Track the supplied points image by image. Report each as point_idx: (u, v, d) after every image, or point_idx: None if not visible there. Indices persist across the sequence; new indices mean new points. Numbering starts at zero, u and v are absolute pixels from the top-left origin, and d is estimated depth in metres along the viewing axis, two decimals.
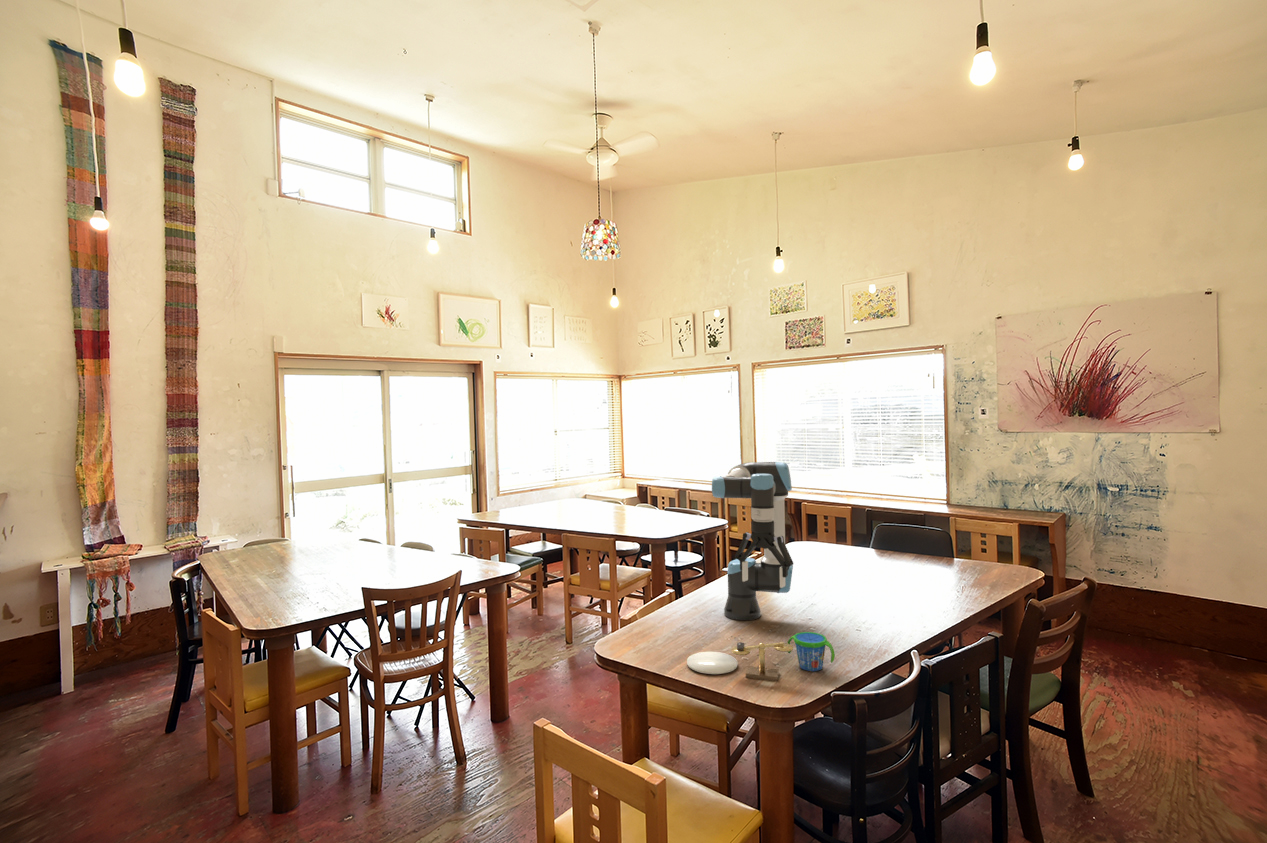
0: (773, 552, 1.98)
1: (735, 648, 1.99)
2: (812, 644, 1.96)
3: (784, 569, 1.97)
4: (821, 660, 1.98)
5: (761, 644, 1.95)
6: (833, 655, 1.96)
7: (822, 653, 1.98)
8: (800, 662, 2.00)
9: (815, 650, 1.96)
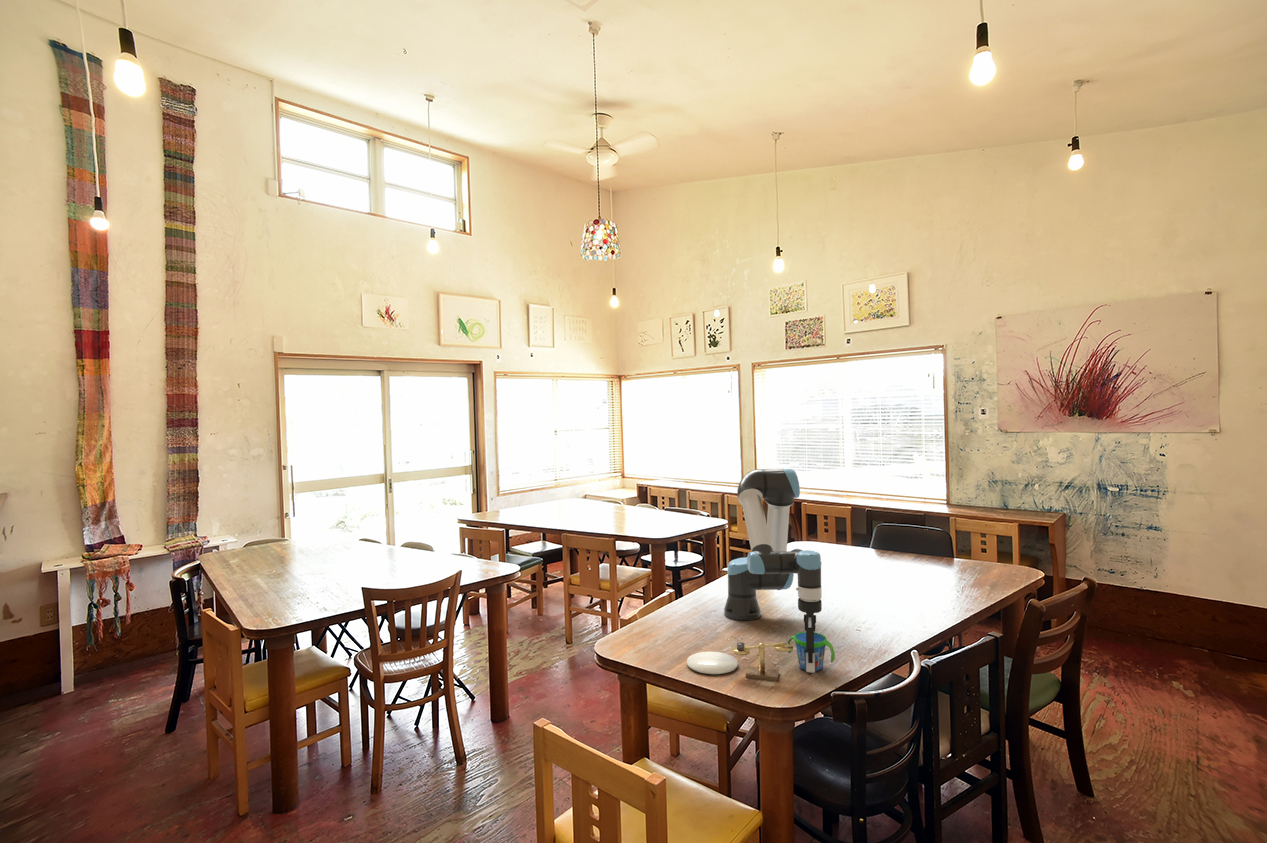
0: None
1: (735, 648, 1.99)
2: None
3: (808, 654, 1.95)
4: (821, 660, 1.98)
5: (761, 644, 1.95)
6: (833, 655, 1.96)
7: (822, 653, 1.98)
8: (800, 662, 2.00)
9: (815, 650, 1.96)
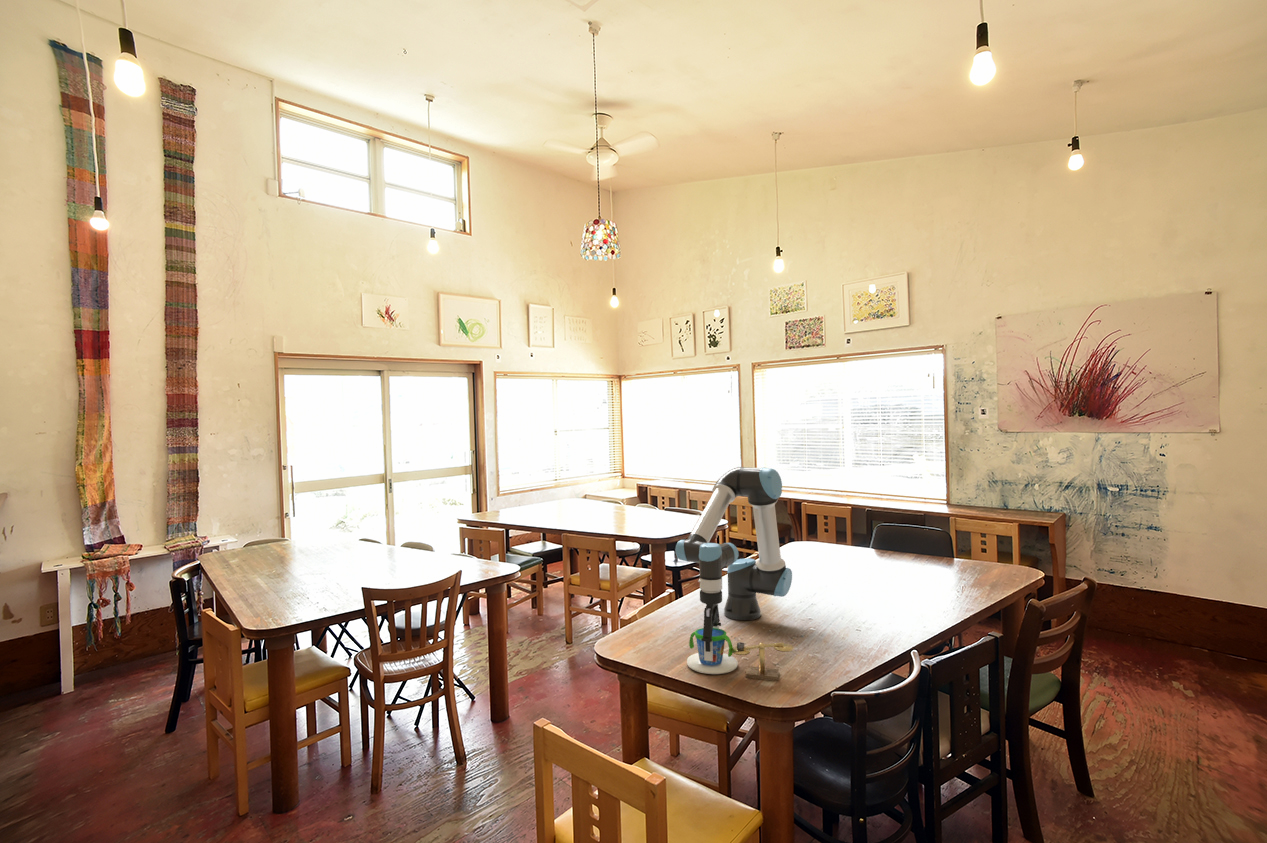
0: None
1: (735, 648, 1.99)
2: None
3: None
4: (720, 654, 2.00)
5: (761, 644, 1.95)
6: None
7: (721, 647, 2.00)
8: (700, 656, 2.02)
9: (713, 644, 1.98)
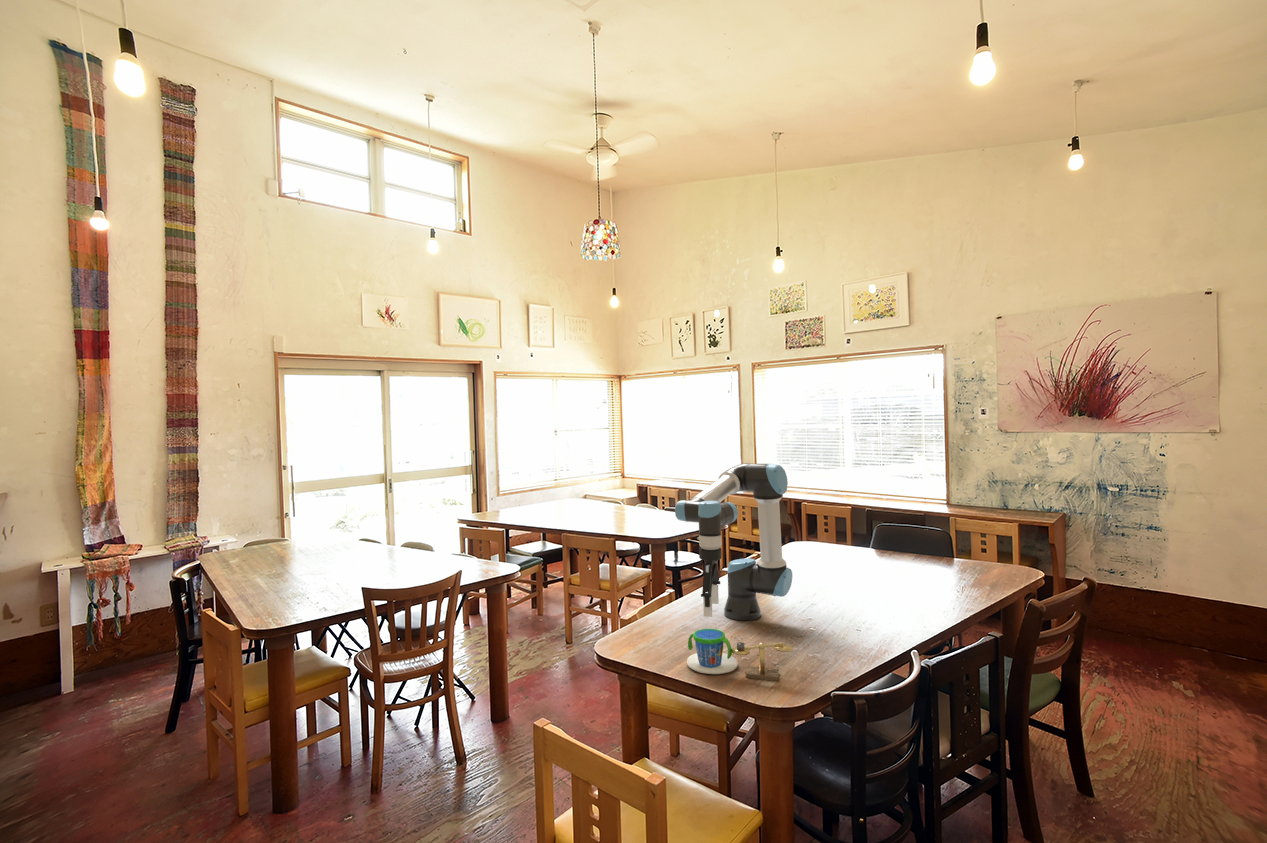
0: None
1: (735, 648, 1.99)
2: (709, 640, 1.97)
3: None
4: (719, 656, 1.99)
5: (761, 644, 1.95)
6: (730, 651, 1.98)
7: (720, 649, 1.99)
8: (699, 659, 2.01)
9: (712, 647, 1.97)
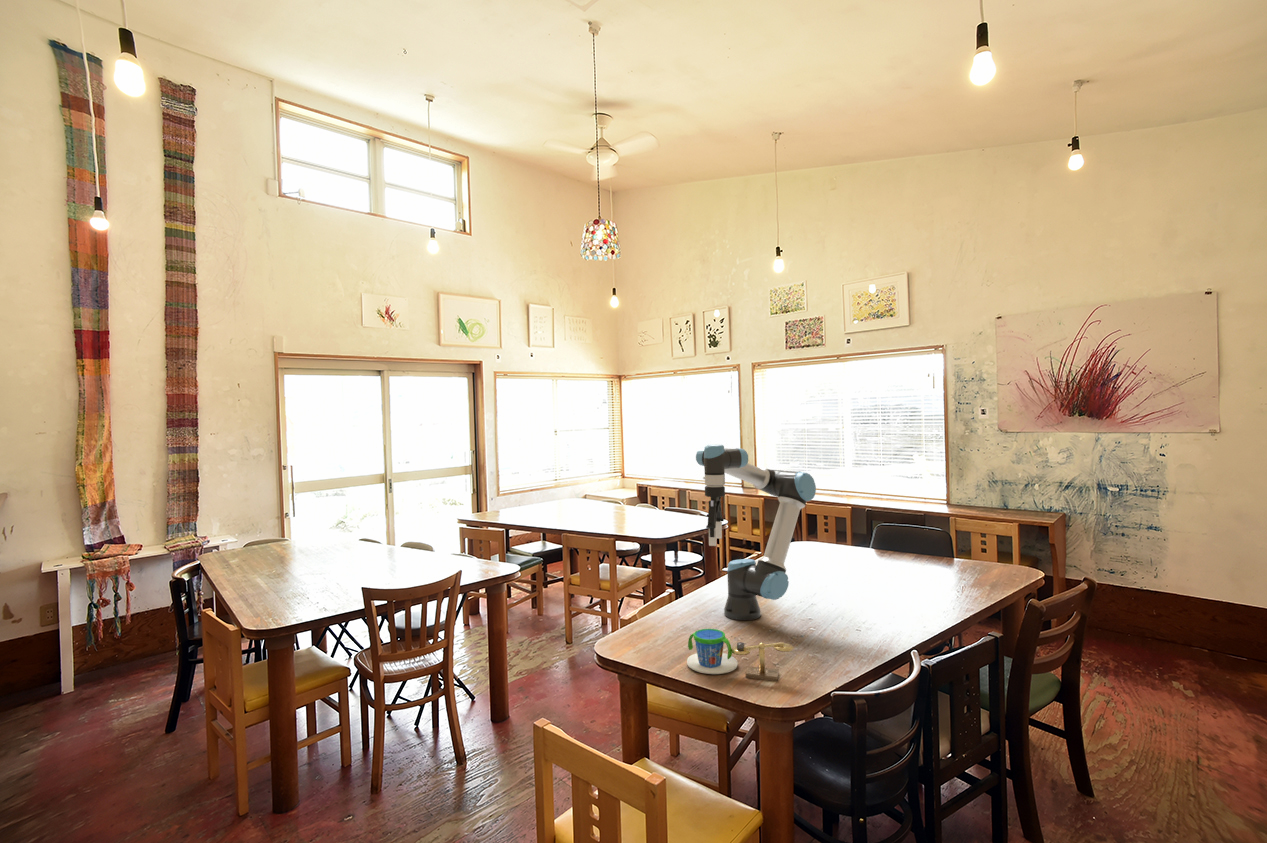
0: None
1: (735, 648, 1.99)
2: (709, 641, 1.97)
3: None
4: (719, 656, 1.99)
5: (761, 644, 1.95)
6: (730, 651, 1.98)
7: (720, 649, 1.99)
8: (699, 659, 2.01)
9: (712, 647, 1.97)
